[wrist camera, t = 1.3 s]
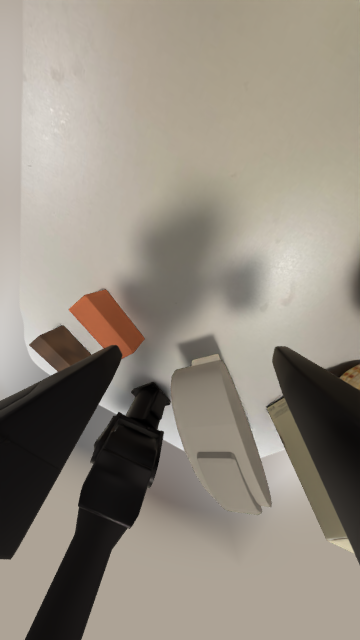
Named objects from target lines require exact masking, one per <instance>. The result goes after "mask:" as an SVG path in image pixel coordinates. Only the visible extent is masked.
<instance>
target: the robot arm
mask: <svg viewBox="0 0 360 640" xmlns="http://www.w3.org/2000/svg"><path fill="white" fill-rule="evenodd" d="M121 359H122V353H121V351H120V348H119V347H118V345H110V346H108V347H106V348H104V349H102V350H100V351H98V352H96V353H94V354H92V355H90V356H88V357H87V358H85V359H83V360H81V361H79V362H77V363H75V364H73V365H71V366H69V367H67V368H65V369H63V370H61V371H59V372H57V373H55V374H53V375H51V376H49V377H48V378H46V379H43V380H42V381H40V382H38V383H36V384H34V385H32V386H30V387H28V388H26V389H24V390H22V391H20V392H18V393H16V394H14V395H12V396H9V397H8V398H5V399H3V400H1V401H0V559H11V558H12V557H13V555H14V554H15V552H16V550H17V549H18V547H19V546H20V544H21V542H22V540H23V538H24V537H25V535H26V533H27V531H28V529H29V528H30V526H31V524H32V522H33V521H34V519H35V517H36V515H37V513H38V512H39V510H40V508H41V506H42V504H43V502H44V501H45V499H46V497H47V496H48V494H49V492H50V490H51V488H52V487H53V485H54V483H55V481H56V479H57V478H58V476H59V474H60V472H61V470H62V468H63V467H64V465H65V463H66V461H67V459H68V458H69V456H70V454H71V452H72V451H73V449H74V447H75V445H76V443H77V442H78V440H79V438H80V436H81V434H82V433H83V431H84V429H85V427H86V425H87V424H88V422H89V420H90V418H91V417H92V415H93V413H94V411H95V409H96V408H97V406H98V404H99V402H100V401H101V399H102V397H103V395H104V393H105V392H106V390H107V388H108V386H109V385H110V383H111V381H112V379H113V377H114V375H115V373H116V370H117V368H118V366H119V364H120V361H121ZM272 362H273V366H274V369H275V372H276V375H277V378H278V381H279V384H280V387H281V390H282V393H283V396H284V398H285V401H286V403H287V405H288V407H289V410H290V412H291V414H292V416H293V418H294V421H295V423H296V425H297V427H298V429H299V432H300V434H301V436H302V438H303V441H304V443H305V445H306V447H307V449H308V452H309V454H310V456H311V458H312V460H313V463H314V465H315V467H316V469H317V471H318V474H319V476H320V478H321V480H322V482H323V485H324V487H325V489H326V491H327V494H328V496H329V498H330V500H331V502H332V505H333V507H334V509H335V511H336V513H337V516H338V518H339V520H340V522H341V524H342V527H343V529H344V531H345V533H346V536H347V538H348V540H349V542H350V544H351V547H352V549H353V551H354V553H355V555H356V558H357V560H358V562H359V564H360V390H359V389H357V388H355V387H354V386H352V385H350V384H348V383H347V382H345V381H343V380H342V379H340V378H338V377H337V376H335V375H333V374H332V373H330V372H328V371H327V370H325V369H323V368H322V367H320V366H318V365H317V364H315V363H313V362H312V361H310V360H308V359H307V358H305V357H303V356H301V355H300V354H298V353H296V352H295V351H293V350H291V349H290V348H288V347H285V346H277V347H275V349H274V354H273V359H272ZM131 393H132V394H133V395H134V396H135V399H134V401H133V403H132V404H131V406H130V408H129V410H128V412H127V414H126V416H125V415H123V414H121V413H120V412H118V414H117V415H116V416H113V418H112V419H111V421H110V423H109V424H108V426H107V427H106V429H105V430H104V431H103V432H102V434H101V435H100V437H99V438H98V439H97V441H96V442H95V444H94V452H93V456H92V458H91V461H90V463H93V466H92V468H91V470H90V472H89V474H88V476H87V478H86V480H85V482H84V484H83V486H82V490H81V493H80V498H79V503H78V506H79V511H78V518H77V524H76V531H75V535H74V537H73V539H72V541H71V543H70V545H69V548H68V550H67V552H66V554H65V556H64V558H63V560H62V562H61V564H60V566H59V569H58V571H57V573H56V575H55V577H54V579H53V582H52V583H51V585H50V588H49V590H48V592H47V594H46V596H45V598H44V600H43V602H42V605H41V607H40V609H39V611H38V613H37V615H36V617H35V619H34V621H33V624H32V626H31V628H30V630H29V632H28V634H27V636H26V638H25V640H81V639H82V636H83V633H84V630H85V627H86V624H87V621H88V618H89V615H90V612H91V609H92V606H93V604H94V601H95V597H96V595H97V592H98V588H99V586H100V583H101V580H102V577H103V574H104V571H105V568H106V565H107V562H108V559H109V557H110V554H111V551H112V549H113V547H114V546H115V545H116V543H117V542H118V541H119V539H120V538H121V536H122V535H123V534H124V532H125V531H126V530H127V528H129V529H130V528H131V527H132V525H133V524H134V521H135V520H136V518H137V517H138V515H139V512H140V509H141V506H142V502H143V500H144V496H145V493H146V490H147V488H150V487H151V485H152V483H153V480H154V478H155V474H156V471H157V467H158V463H159V458H160V452H161V446H162V440H163V434H164V432H163V431H159V430H157V429H158V425H159V422H160V420H161V418H162V415H163V411H164V408H165V406H167V405H170V400H169V399H168V398H167V397H166V396H165V394H164V393H163V392H162V391H161V390H160V389H159V387H158V386H157V385H156V384H155V383H154V382H152V383H149V384H146V385H143V386H141V387H138V388H135V389H133V390H132V391H131ZM115 430H116V431H115Z"/></svg>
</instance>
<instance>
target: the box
mask: <svg viewBox="0 0 360 640" xmlns="http://www.w3.org/2000/svg"><path fill="white" fill-rule="evenodd" d="M267 410H268V412H269V414H270V416H271V419H272V421H273V423H274V425H275V427H276V430H277V432H278V434H279V436H280V438H281V441H282V443H283V445H284V447H285V449H286V452H287V454H288V456H289V458H290V460H291V463H292V465H293V467H294V469H295V471H296V474H297V476H298V478H299V480H300V482H301V485H302V487H303V489H304V491H305V494H306V496H307V498H308V500H309V502H310V505H311V507H312V509H313V511H314V513H315V515H316V518H317V520H318V522H319V524H320V527H321V529H322V531H323V533H324V535H325V538H326V539H327V541H329V542H331V543H333V544H335V545H337V546H339V547H341V548H343V549H345V550H347V551H349V552H352V553H354V551H353V549H352V547H351V544H350V542H349V540H348V538H347V536H346V533H345V531H344V529H343V527H342V524H341V522H340V520H339V518H338V516H337V513H336V511H335V509H334V507H333V505H332V502H331V500H330V498H329V496H328V494H327V491H326V489H325V487H324V485H323V482H322V480H321V478H320V476H319V474H318V471H317V469H316V467H315V465H314V463H313V460H312V458H311V456H310V454H309V452H308V449H307V447H306V445H305V443H304V441H303V438H302V436H301V434H300V432H299V429H298V427H297V425H296V423H295V421H294V418H293V416H292V414H291V412H290V410H289V407H288V405H287V403H286V401H285V398H283V399H281V400H279V401H278V402H276V403H275V404H273V405H271V406H270V407H268V408H267ZM354 554H355V553H354Z"/></svg>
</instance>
